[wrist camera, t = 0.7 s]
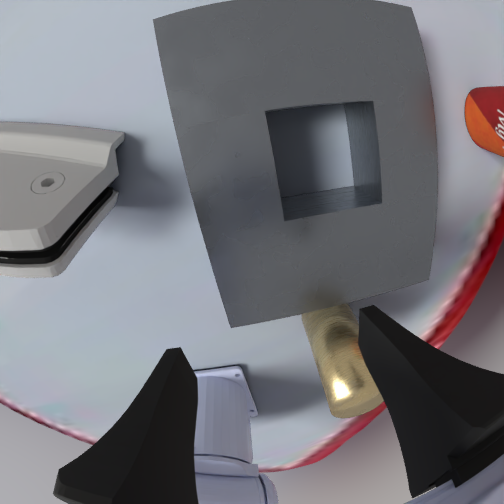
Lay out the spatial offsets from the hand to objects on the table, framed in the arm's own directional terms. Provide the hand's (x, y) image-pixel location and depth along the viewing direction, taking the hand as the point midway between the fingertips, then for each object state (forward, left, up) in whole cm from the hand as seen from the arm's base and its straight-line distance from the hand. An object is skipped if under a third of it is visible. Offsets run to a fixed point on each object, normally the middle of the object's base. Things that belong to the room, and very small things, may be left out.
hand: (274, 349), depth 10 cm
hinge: (+10, +15, -10) cm, 21 cm away
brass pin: (-7, -5, -10) cm, 13 cm away
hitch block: (+6, -5, -10) cm, 12 cm away
